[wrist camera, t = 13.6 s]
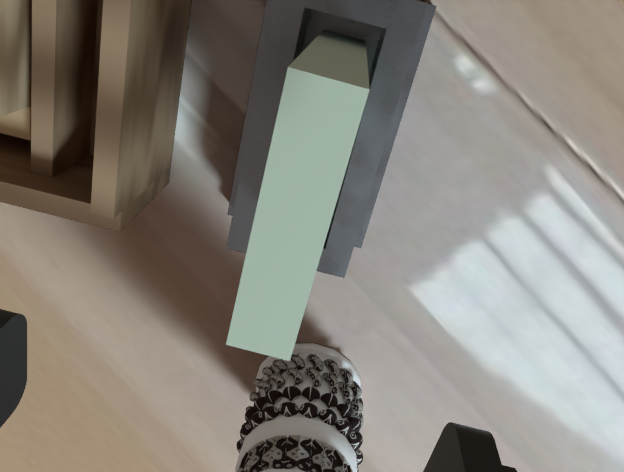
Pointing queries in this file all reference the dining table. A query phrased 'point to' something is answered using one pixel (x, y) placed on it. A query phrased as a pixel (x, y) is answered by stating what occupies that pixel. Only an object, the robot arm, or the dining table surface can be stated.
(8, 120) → the offcut lower
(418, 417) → the dining table surface
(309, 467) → the decorative candle
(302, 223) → the panel
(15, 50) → the offcut upper
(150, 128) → the rack
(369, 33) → the stand
